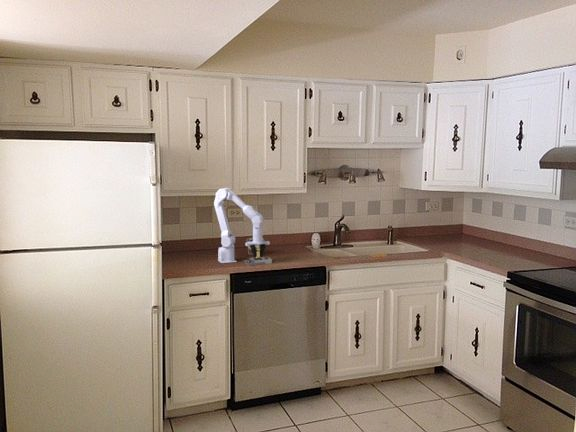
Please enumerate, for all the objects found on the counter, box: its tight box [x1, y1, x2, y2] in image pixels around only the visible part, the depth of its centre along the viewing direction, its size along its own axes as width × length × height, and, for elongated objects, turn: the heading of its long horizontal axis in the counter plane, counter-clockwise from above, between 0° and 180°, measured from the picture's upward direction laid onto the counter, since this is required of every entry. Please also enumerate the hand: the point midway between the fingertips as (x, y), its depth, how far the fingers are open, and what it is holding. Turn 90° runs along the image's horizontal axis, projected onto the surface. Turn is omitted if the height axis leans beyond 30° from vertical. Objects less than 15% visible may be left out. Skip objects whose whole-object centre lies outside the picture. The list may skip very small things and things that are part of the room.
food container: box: [245, 237, 265, 255], centre depth 332 cm, size 12×6×10 cm, turn 70°
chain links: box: [243, 256, 273, 266], centre depth 306 cm, size 15×8×3 cm, turn 113°
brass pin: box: [255, 247, 261, 260], centre depth 305 cm, size 4×4×8 cm
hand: (257, 257), depth 305 cm, fingers closed on brass pin, 4 cm apart
